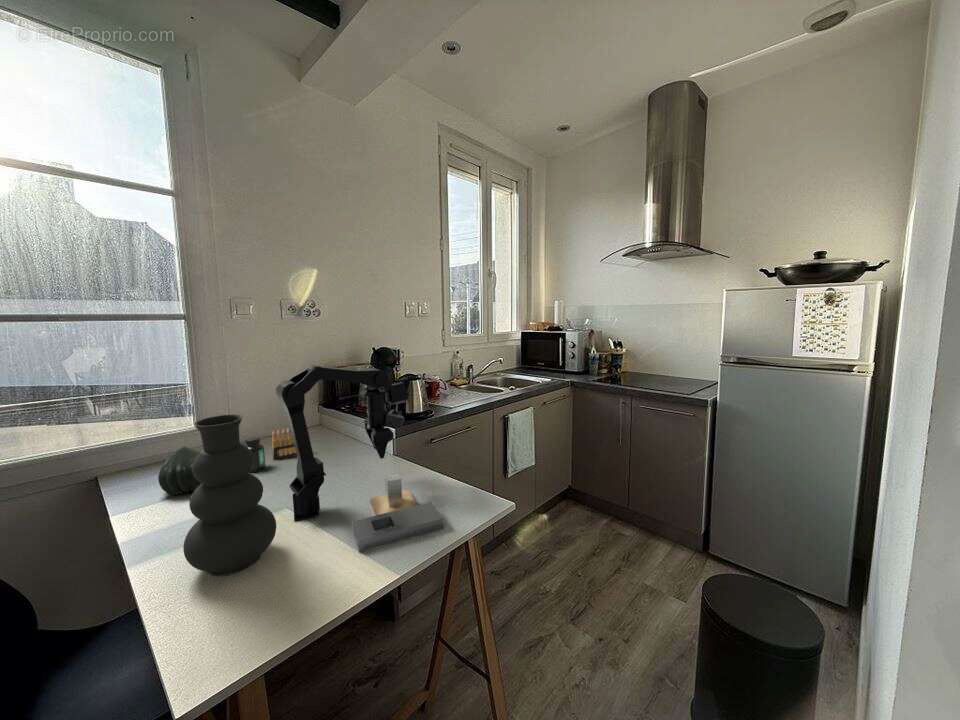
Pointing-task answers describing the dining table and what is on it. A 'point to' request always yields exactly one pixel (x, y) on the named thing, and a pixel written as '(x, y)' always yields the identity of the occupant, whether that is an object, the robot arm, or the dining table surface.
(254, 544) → the vase
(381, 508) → the oak pad
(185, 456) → the squash
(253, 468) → the supplement bottle
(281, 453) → the ammunition clip
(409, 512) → the rail
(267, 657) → the dining table surface
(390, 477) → the brushed metal block
